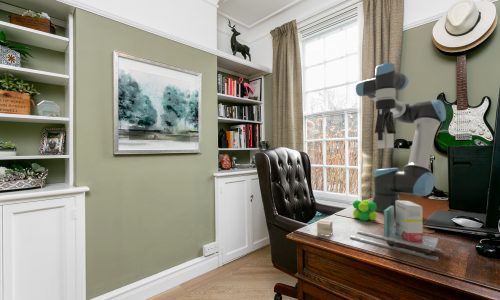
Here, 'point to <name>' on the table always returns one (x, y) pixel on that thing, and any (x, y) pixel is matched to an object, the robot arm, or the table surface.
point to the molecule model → (364, 210)
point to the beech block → (324, 227)
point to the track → (394, 246)
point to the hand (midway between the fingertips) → (385, 148)
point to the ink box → (409, 220)
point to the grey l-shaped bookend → (393, 237)
